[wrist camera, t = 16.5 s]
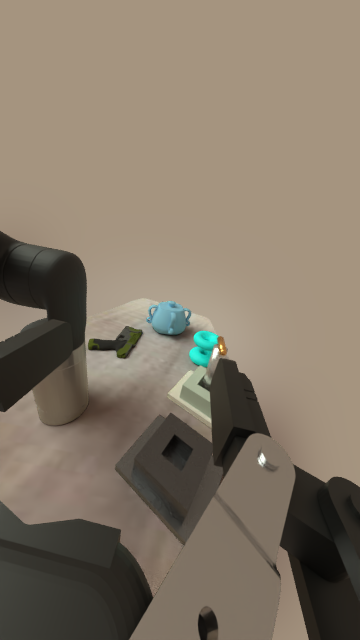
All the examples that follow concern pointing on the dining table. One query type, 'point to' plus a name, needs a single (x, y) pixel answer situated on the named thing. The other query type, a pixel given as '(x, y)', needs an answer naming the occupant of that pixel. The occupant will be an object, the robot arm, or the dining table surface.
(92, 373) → the dining table surface
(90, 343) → the gun
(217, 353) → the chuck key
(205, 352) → the donuts
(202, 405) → the pale green socket base
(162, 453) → the block
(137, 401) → the dining table surface
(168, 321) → the decorative pot
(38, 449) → the dining table surface
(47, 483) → the dining table surface
